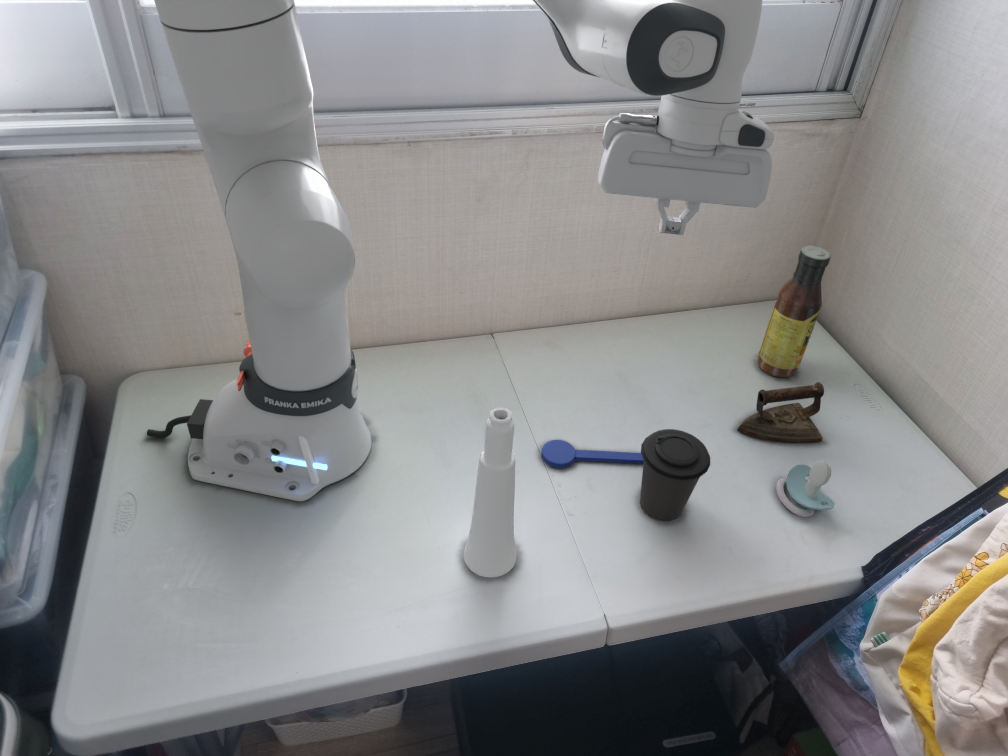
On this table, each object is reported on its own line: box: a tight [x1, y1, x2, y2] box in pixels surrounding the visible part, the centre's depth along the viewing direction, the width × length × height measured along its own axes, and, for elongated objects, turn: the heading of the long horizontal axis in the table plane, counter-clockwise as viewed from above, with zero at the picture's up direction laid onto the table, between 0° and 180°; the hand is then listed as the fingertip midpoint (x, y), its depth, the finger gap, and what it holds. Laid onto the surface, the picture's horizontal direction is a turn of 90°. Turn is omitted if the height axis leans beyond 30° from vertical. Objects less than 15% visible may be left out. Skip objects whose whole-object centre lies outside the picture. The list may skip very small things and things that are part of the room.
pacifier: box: [775, 460, 836, 518], centre depth 95 cm, size 7×6×6 cm
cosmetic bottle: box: [463, 406, 518, 579], centre depth 80 cm, size 6×6×22 cm
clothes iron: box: [736, 381, 825, 444], centre depth 104 cm, size 7×11×10 cm, turn 101°
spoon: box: [541, 439, 644, 469], centre depth 100 cm, size 16×4×1 cm, turn 90°
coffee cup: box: [639, 428, 711, 522], centre depth 92 cm, size 8×8×10 cm
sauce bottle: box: [757, 245, 832, 378], centre depth 111 cm, size 6×6×20 cm
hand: (670, 232), depth 96 cm, fingers closed
